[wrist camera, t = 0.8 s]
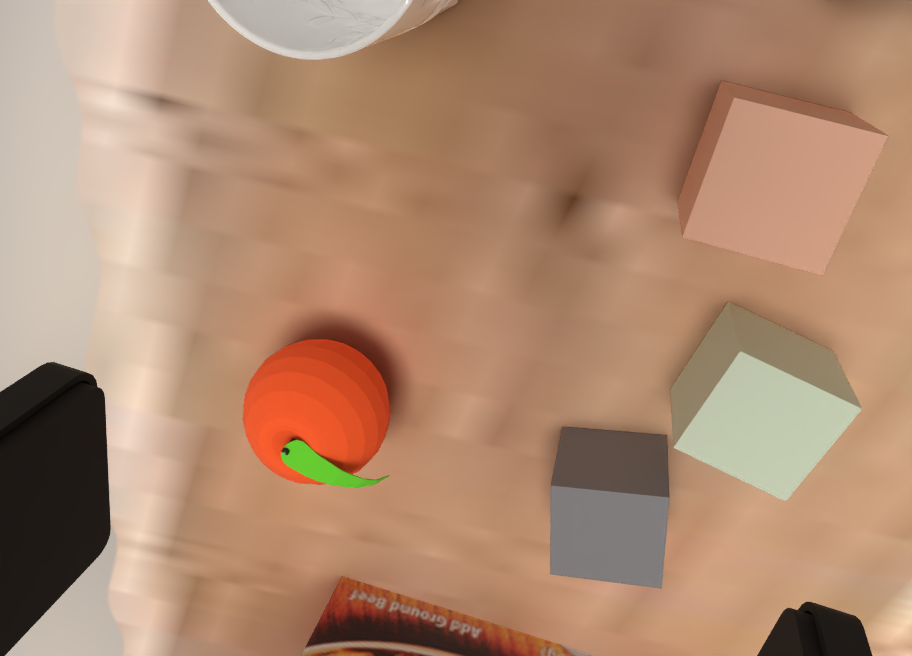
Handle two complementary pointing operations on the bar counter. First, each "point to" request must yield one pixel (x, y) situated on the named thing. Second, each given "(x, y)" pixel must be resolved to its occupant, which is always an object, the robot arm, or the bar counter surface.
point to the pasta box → (413, 629)
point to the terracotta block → (776, 177)
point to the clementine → (317, 413)
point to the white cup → (325, 23)
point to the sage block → (760, 402)
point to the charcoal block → (610, 506)
